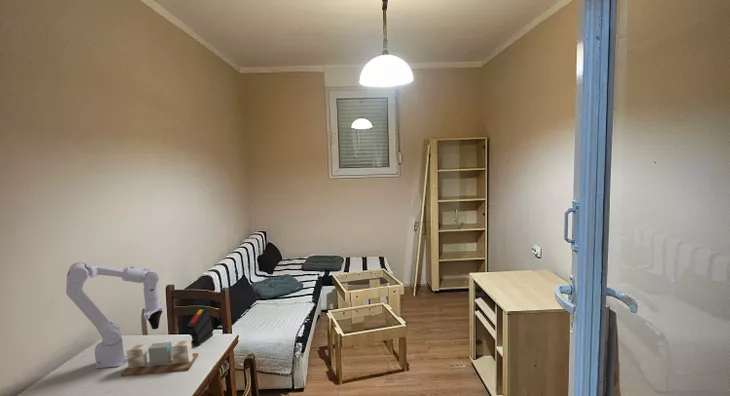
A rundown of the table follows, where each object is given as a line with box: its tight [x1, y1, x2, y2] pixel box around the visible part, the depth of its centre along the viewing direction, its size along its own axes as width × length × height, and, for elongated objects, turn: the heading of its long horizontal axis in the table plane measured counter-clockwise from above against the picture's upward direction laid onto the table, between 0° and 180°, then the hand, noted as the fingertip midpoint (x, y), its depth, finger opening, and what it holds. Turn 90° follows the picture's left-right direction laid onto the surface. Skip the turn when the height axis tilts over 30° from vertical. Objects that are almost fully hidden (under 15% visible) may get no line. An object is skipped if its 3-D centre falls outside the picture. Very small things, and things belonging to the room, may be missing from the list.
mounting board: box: [120, 339, 199, 377], centre depth 163 cm, size 25×12×8 cm, turn 95°
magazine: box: [186, 306, 215, 347], centre depth 183 cm, size 4×13×15 cm, turn 166°
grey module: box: [148, 341, 173, 366], centre depth 163 cm, size 7×4×7 cm, turn 96°
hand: (155, 328), depth 176 cm, fingers closed
